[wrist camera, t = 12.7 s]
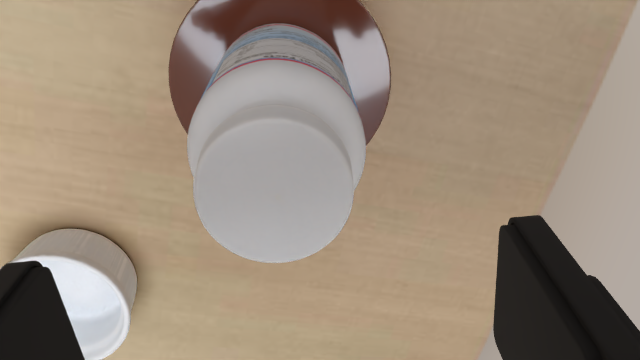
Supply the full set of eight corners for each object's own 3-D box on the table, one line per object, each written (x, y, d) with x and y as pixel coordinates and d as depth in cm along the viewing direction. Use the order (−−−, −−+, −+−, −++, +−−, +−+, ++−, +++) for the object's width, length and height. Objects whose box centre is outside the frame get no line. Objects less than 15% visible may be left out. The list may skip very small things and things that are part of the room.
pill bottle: (302, 167, 27) (305, 315, 17) (194, 104, 26) (127, 226, 16) (373, 67, 25) (424, 169, 15) (260, -9, 24) (232, 49, 13)
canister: (367, -54, 29) (386, -45, 23) (376, 126, 34) (394, 173, 28) (177, -34, 29) (144, -20, 23) (211, 142, 34) (192, 194, 28)
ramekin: (137, 219, 36) (118, 256, 32) (153, 322, 40) (137, 366, 36) (1, 219, 36) (-35, 256, 32) (30, 324, 40) (1, 368, 36)
